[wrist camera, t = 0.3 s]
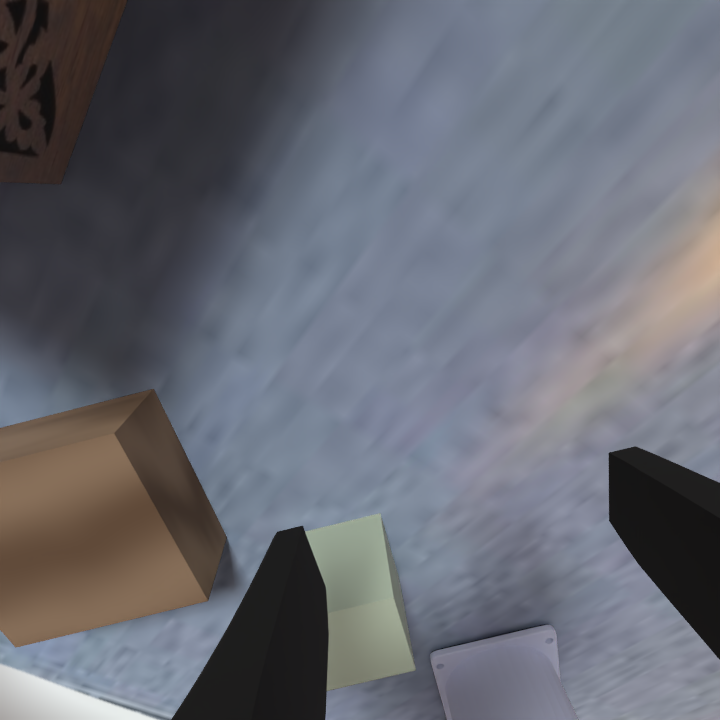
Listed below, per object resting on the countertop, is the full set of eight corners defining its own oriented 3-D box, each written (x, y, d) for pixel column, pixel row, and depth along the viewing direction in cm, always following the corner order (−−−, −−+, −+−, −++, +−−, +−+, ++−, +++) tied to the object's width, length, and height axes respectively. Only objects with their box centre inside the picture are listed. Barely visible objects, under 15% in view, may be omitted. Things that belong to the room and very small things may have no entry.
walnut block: (228, 532, 22) (208, 601, 18) (67, 571, 22) (15, 647, 19) (156, 385, 19) (114, 433, 15) (-33, 433, 19) (-121, 492, 15)
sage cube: (398, 577, 24) (415, 670, 19) (315, 597, 24) (311, 694, 19) (379, 512, 22) (393, 597, 17) (289, 534, 22) (278, 624, 17)
